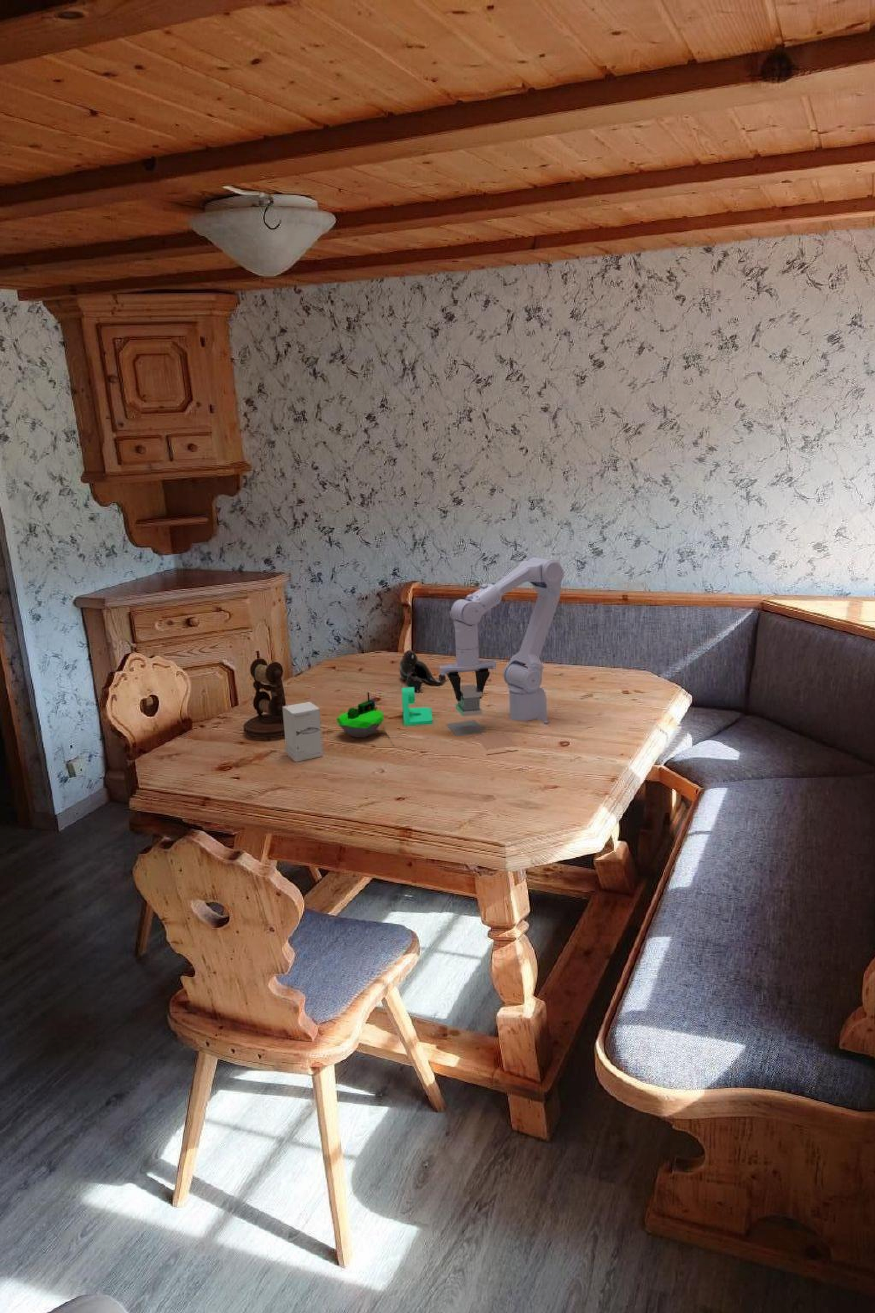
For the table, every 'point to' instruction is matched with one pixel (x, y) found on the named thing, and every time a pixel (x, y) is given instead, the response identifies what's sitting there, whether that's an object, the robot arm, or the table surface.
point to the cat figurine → (416, 672)
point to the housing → (469, 700)
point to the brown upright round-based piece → (267, 700)
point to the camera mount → (414, 710)
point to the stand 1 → (465, 728)
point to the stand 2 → (496, 741)
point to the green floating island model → (361, 719)
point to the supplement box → (302, 731)
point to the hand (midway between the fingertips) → (468, 698)
